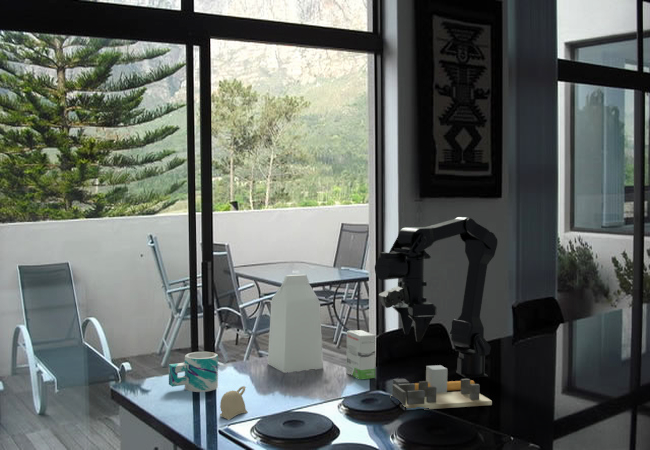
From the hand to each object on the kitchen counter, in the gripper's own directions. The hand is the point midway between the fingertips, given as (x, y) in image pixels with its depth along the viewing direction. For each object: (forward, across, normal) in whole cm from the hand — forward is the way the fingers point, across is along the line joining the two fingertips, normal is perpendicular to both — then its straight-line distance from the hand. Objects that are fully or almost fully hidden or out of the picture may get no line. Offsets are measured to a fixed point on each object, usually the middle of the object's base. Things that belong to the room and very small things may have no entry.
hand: (412, 337), depth 188 cm
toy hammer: (+13, +5, +5) cm, 14 cm away
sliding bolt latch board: (+12, +15, +2) cm, 19 cm away
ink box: (+13, -13, -10) cm, 21 cm away
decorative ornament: (+12, +15, -47) cm, 51 cm away
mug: (+12, -8, -55) cm, 57 cm away
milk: (+13, -27, -26) cm, 39 cm away
